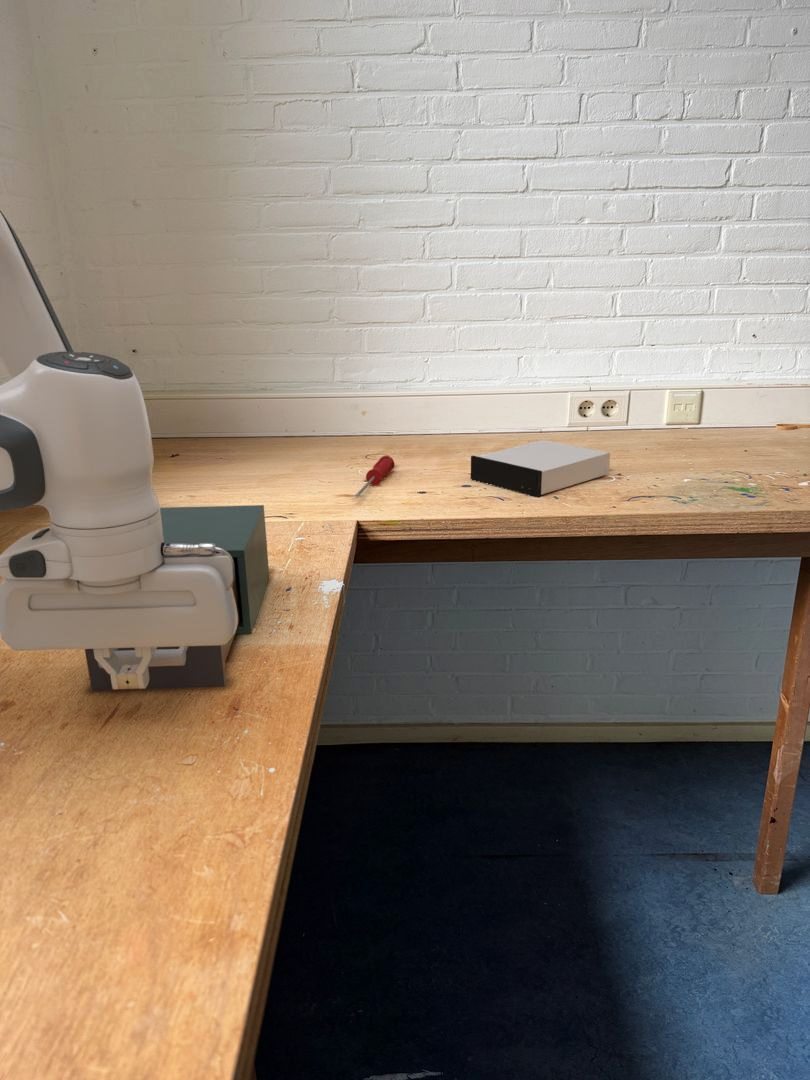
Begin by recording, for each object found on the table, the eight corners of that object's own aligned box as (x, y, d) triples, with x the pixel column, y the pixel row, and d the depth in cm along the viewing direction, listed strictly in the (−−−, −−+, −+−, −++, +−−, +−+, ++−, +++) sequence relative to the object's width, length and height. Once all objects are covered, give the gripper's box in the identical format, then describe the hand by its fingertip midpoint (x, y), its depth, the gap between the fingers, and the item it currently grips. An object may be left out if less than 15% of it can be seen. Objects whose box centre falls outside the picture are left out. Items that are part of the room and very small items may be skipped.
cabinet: (251, 633, 96) (244, 549, 93) (127, 637, 96) (115, 553, 92) (269, 577, 113) (263, 505, 109) (164, 580, 113) (155, 507, 109)
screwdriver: (347, 505, 146) (346, 486, 145) (379, 470, 169) (378, 454, 168) (366, 505, 145) (365, 487, 144) (395, 471, 168) (395, 455, 167)
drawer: (217, 710, 78) (208, 628, 75) (76, 714, 78) (62, 632, 75) (248, 619, 98) (242, 551, 95) (136, 622, 97) (127, 554, 94)
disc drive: (470, 479, 161) (470, 455, 159) (541, 460, 175) (542, 438, 173) (538, 497, 148) (539, 471, 147) (609, 475, 162) (611, 451, 161)
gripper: (237, 530, 72) (250, 666, 77) (9, 535, 72) (35, 672, 76) (225, 555, 66) (239, 700, 71) (-25, 561, 66) (6, 707, 70)
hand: (131, 686), depth 74 cm, fingers closed
